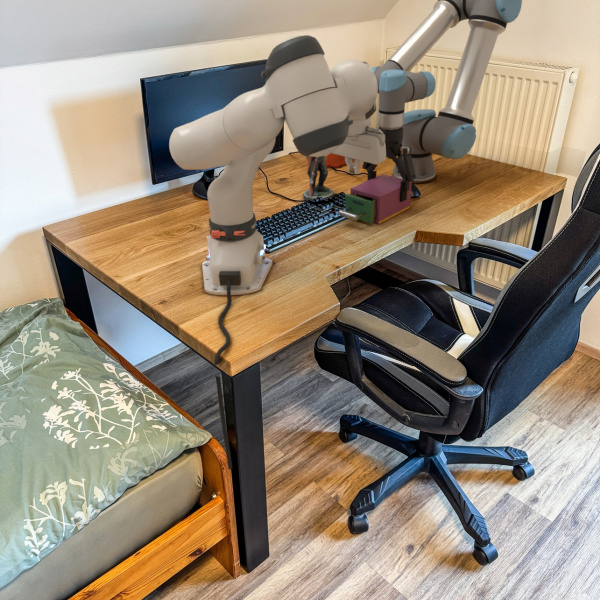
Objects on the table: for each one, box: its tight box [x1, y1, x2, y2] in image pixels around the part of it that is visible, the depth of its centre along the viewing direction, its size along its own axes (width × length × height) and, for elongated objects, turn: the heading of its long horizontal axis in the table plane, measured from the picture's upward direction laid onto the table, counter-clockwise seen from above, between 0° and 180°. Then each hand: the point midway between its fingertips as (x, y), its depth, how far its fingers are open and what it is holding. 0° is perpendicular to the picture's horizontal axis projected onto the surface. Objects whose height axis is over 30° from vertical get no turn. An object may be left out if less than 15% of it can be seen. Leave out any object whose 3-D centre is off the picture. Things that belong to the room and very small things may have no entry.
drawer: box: [338, 193, 377, 224], centre depth 172 cm, size 20×10×7 cm, turn 136°
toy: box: [325, 153, 347, 169], centre depth 216 cm, size 13×18×15 cm
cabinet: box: [349, 173, 413, 225], centre depth 176 cm, size 16×11×9 cm
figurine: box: [302, 155, 335, 202], centre depth 181 cm, size 11×11×30 cm
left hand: (353, 172), depth 161 cm, fingers closed
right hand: (387, 196), depth 178 cm, fingers closed on cabinet, 11 cm apart
